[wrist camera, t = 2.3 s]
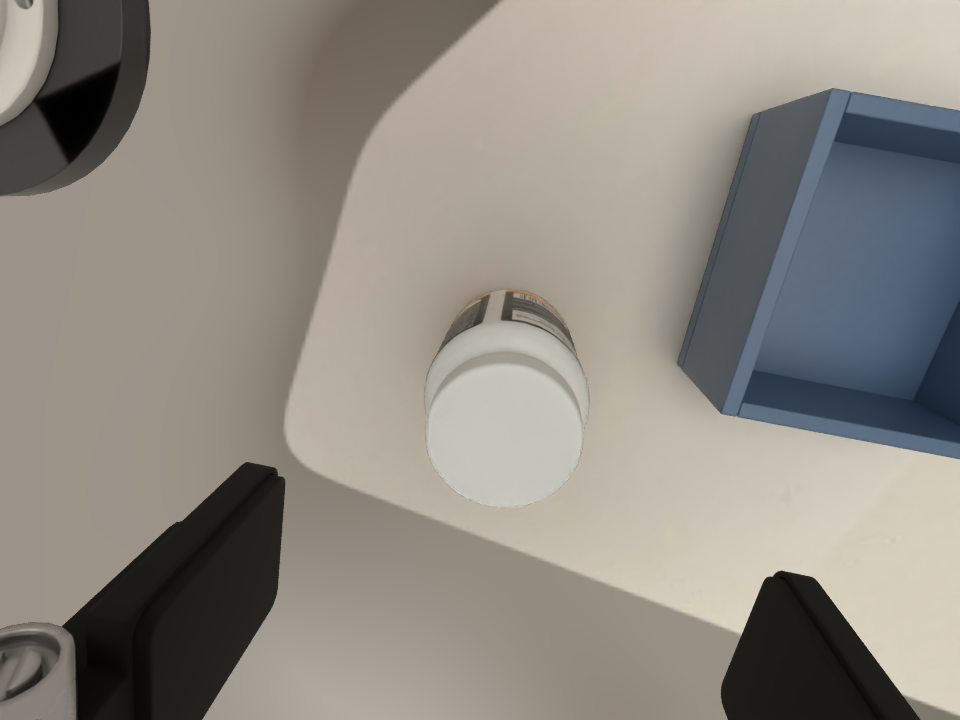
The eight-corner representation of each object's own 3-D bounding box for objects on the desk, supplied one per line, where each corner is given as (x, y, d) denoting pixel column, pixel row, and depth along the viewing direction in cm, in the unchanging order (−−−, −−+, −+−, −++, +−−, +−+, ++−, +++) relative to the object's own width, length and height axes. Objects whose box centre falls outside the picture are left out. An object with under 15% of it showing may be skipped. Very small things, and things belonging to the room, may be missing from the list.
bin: (676, 364, 25) (720, 414, 19) (752, 113, 22) (832, 87, 16) (908, 408, 25) (1020, 471, 19) (1021, 162, 21) (1195, 152, 16)
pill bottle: (473, 417, 26) (444, 545, 17) (431, 308, 25) (375, 381, 15) (586, 384, 25) (624, 499, 16) (550, 268, 24) (568, 320, 14)
